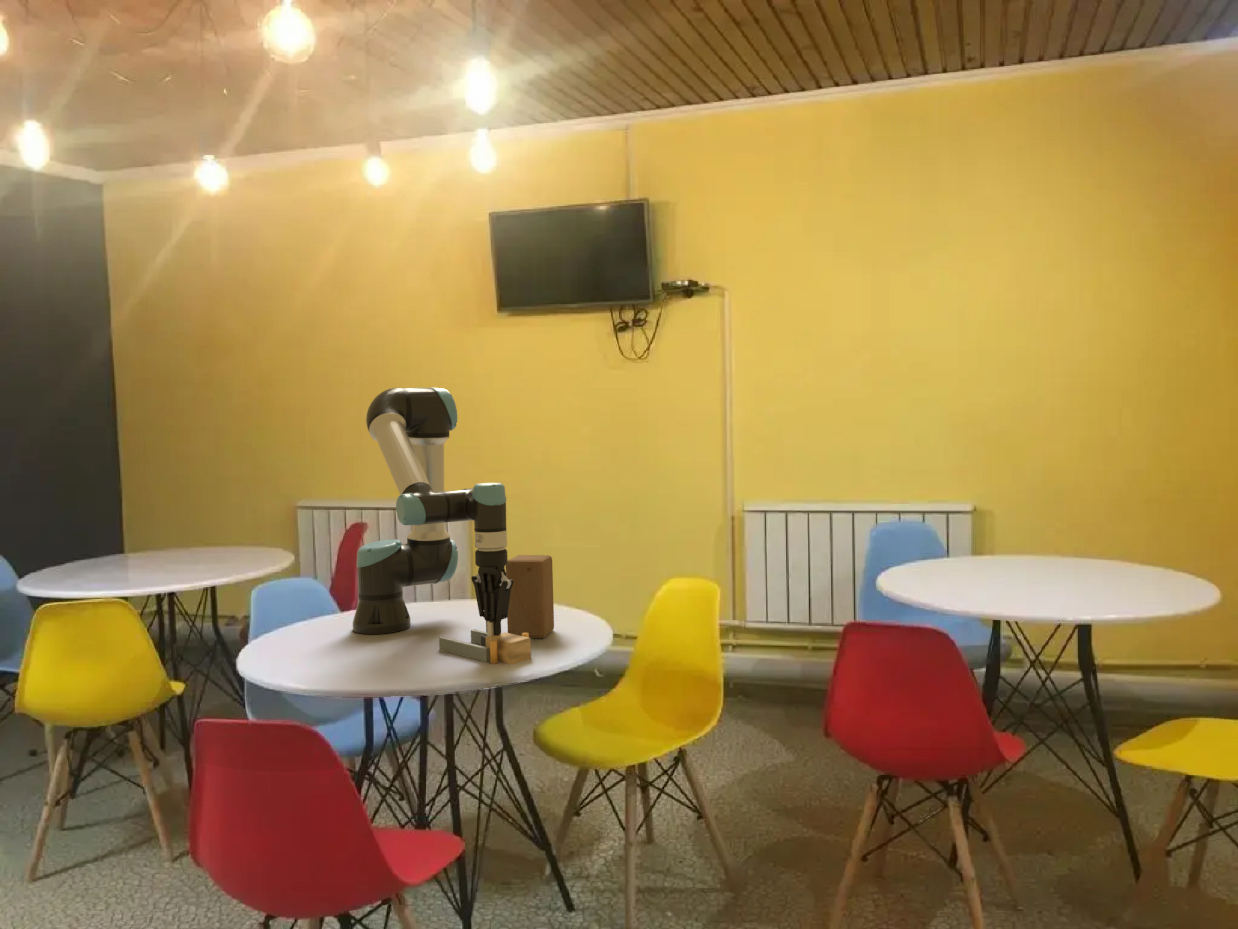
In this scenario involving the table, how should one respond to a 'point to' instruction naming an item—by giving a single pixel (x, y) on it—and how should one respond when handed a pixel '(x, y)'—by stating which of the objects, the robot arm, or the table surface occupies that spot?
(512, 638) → the oak block
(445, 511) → the robot arm
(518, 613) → the wooden block
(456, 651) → the chute
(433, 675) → the table surface
